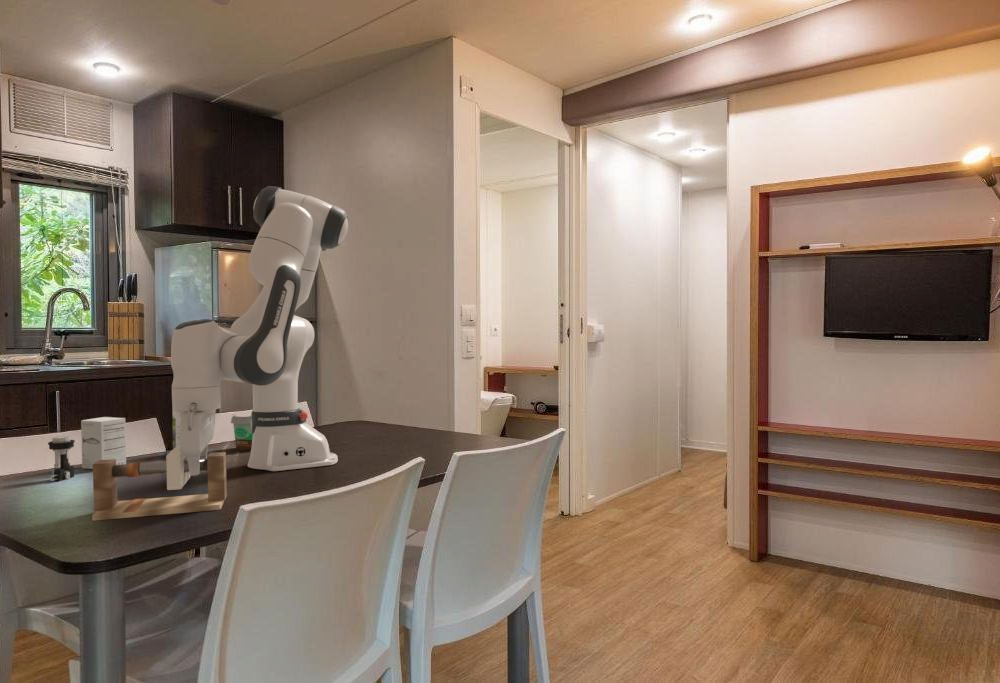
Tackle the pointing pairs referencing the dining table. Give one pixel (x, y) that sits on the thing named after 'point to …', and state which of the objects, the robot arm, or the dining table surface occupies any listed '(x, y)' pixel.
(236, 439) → the food container
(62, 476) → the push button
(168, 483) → the collar
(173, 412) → the syrup box
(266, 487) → the dining table surface
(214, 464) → the rod stand
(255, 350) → the robot arm
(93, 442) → the supplement box
